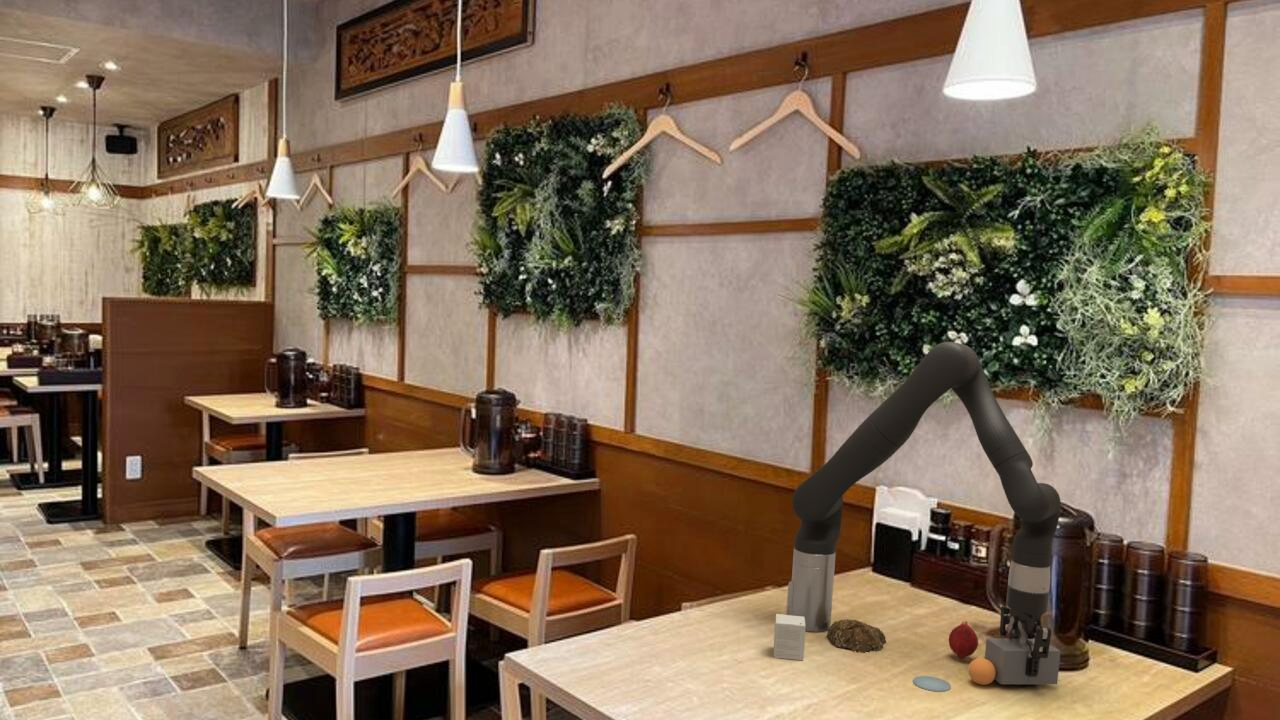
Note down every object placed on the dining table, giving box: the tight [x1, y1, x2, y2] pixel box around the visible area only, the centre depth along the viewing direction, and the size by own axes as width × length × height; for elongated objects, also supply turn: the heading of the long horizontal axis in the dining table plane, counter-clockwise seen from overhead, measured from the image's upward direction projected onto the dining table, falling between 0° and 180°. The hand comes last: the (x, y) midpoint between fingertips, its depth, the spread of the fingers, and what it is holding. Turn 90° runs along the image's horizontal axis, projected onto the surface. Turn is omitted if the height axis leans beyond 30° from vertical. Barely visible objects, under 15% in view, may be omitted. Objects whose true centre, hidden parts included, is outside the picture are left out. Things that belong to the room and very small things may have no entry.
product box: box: [773, 613, 806, 661], centre depth 196 cm, size 6×6×7 cm
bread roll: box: [826, 619, 887, 654], centre depth 206 cm, size 13×12×5 cm
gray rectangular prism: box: [984, 637, 1061, 685], centre depth 188 cm, size 12×7×7 cm, turn 100°
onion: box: [948, 619, 979, 659], centre depth 199 cm, size 6×6×8 cm
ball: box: [967, 657, 996, 686], centre depth 186 cm, size 5×5×5 cm
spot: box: [912, 675, 952, 693], centre depth 185 cm, size 7×7×1 cm
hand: (1020, 668), depth 188 cm, fingers closed on gray rectangular prism, 6 cm apart
